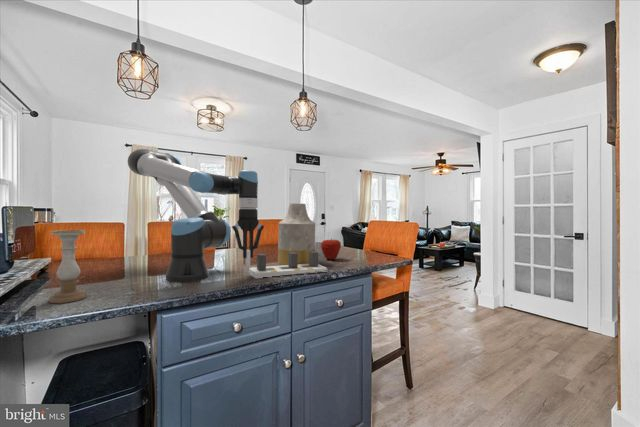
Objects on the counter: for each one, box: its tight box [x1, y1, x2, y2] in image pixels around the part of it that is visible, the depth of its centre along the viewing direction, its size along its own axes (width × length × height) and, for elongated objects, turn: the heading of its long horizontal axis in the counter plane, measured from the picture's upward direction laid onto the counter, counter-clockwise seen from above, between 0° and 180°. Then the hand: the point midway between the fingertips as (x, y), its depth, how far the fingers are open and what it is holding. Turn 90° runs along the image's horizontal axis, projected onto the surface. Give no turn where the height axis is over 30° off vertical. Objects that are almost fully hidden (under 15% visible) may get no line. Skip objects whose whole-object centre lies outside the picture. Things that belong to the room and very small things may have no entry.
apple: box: [320, 238, 342, 260], centre depth 163 cm, size 11×11×12 cm
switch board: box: [248, 263, 328, 279], centre depth 130 cm, size 32×12×2 cm, turn 115°
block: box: [256, 253, 267, 270], centre depth 124 cm, size 3×4×6 cm
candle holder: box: [48, 229, 88, 304], centre depth 88 cm, size 9×9×20 cm
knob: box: [309, 250, 319, 266], centre depth 135 cm, size 3×4×6 cm
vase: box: [277, 202, 316, 266], centre depth 149 cm, size 18×18×30 cm
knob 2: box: [288, 252, 298, 268], centre depth 130 cm, size 3×4×6 cm
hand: (247, 265), depth 122 cm, fingers closed
